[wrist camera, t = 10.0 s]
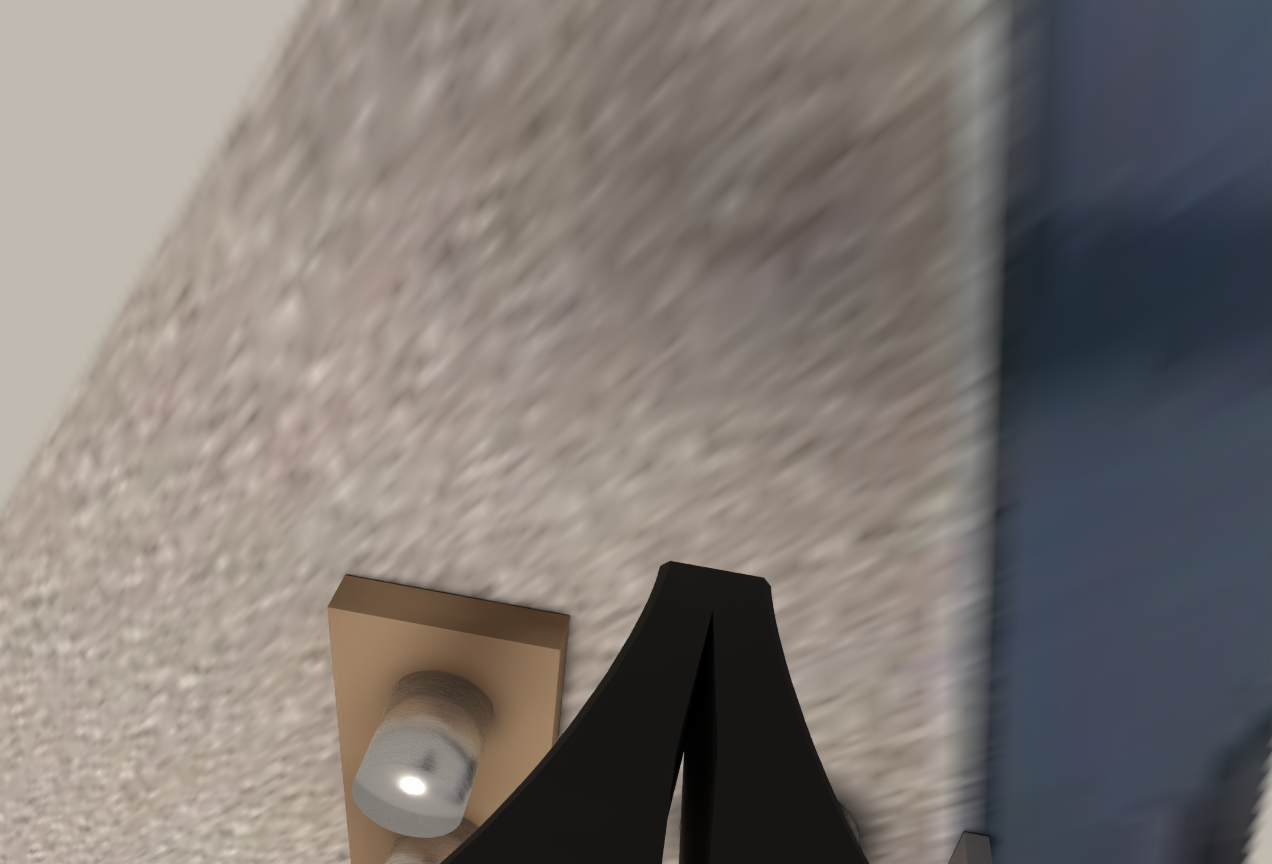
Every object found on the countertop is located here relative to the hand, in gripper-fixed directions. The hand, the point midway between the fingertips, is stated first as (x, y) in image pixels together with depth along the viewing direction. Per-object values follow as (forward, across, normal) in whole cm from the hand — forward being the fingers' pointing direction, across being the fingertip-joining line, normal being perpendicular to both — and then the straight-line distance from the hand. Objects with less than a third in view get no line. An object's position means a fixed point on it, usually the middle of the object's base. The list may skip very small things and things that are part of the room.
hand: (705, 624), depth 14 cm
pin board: (+9, +6, +16) cm, 20 cm away
